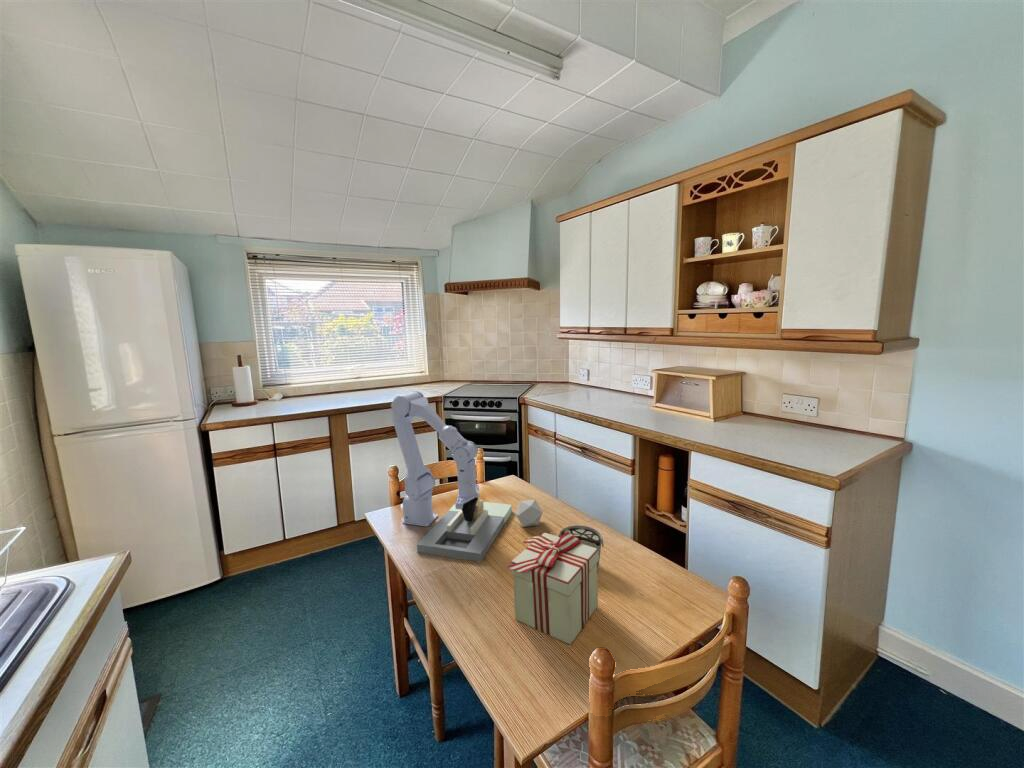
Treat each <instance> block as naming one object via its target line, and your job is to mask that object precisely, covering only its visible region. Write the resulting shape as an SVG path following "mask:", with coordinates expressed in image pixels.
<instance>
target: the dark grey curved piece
mask: <svg viewBox="0 0 1024 768" xmlns="http://www.w3.org/2000/svg"><path fill="white" fill-rule="evenodd" d="M566 532H569V533H571V534H572V535H573V536H575V537H576V538H578V539H579V540H580V541H581V542H580V543H581V544H584V545H588V546H591V547H594V548H597V549H599V561H598V562H597V575H598V573H599V566H600V556H601V549H602V548H604V546H605V545H604V539H603V537H602V534H601V533H600V532H599V531H598V530H597V529H595V528H594V527H591V526H587V525H578V524H577V525H570V526H566V527H564V528H562V529H561V530H560V531H559V532H558V537H561V536H562V535H563V534H564V533H566Z"/></svg>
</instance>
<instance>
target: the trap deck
mask: <svg viewBox="0 0 1024 768" xmlns="http://www.w3.org/2000/svg"><path fill="white" fill-rule="evenodd" d="M483 506H484V511H483V512H482V513H481V515H480V516H479V517H478V519H477V520H472V521H465V519H464V515H463V512H462V510H461V509H456V505H455V503H454V504H453V505H452V506H451V508H450V509H448V510H447V512H446V513H445V514H444V515H443V516H442V517H441V518H440V519H439V520H438V521H437V522H436V523H435V524H434V525H433V527H431V528H430V530H429V531H428V532H427V533H426V534H425V535H424V536H423V537H422V538H421V540H419V542H418V543H417V544H416V549H417V550H416V551H417V553H421V554H428V555H435V556H441V557H446V558H447V557H448V558H453V559H461V560H465V561H466V560H467V561H474V562H479V563H481V562H482V561H483V560H484V558H485V555H486V554H487V552H488V551H489V549H490V547H491V546H492V544H493V543H494V541H495V540H496V538H497V536H498V535H499V533H500V532H501V530H502V528H503V527H504V525H505V524H506V522H507V520H508V519H509V517H510V516H511V514H512V512H513V505H512V504H508V503H499V502H490V501H483Z"/></svg>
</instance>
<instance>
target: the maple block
mask: <svg viewBox="0 0 1024 768" xmlns="http://www.w3.org/2000/svg"><path fill="white" fill-rule="evenodd" d="M483 502H484V499H482V498H481V499H480V498H478V501H477V503H476V506H475V510H474V515H473V520H477V519H478V517H479V516H480V515H481V513H482V512H483V511H484V506H483ZM464 519H465V518H464Z"/></svg>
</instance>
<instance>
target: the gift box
mask: <svg viewBox="0 0 1024 768" xmlns="http://www.w3.org/2000/svg"><path fill="white" fill-rule="evenodd" d="M580 542H581V541H580V540H579V539H578V538H576V537H575V536H573V535H572V534H571V533H569V532H566V533H564V534H563V535H562V536H561V537H559V535H553V534H551V533H546V532H543V533H542V534H541V535H540V534H538V535H535V536H532V537H531V538H529V539H527V540H523V541H522V543H523V544H529V545H528V546H527V547H526V548H525V549H524V550H522V552H520V553H519V554H518V555H517V556H516V557H515V558H514V559H511V561H510V565H507V566H506V568H509V569H510V574H511V575H512V579H513V600H514V601H513V602H514V615H515V616H514V618H515V620H516V621H517V622H519V623H522V624H524V625H527V626H528V627H531V628H533V629H535V630H537V631H539V632H541V633H543V634H546V635H547V636H550V637H552V638H554V639H556V640H559V641H561V642H562V643H565V644H567V645H572V644H573V642H574V641H575V639H576V637H577V636H578V635H579V633H580V632H581V630H583V629H584V627H585V625H586V624H587V622H588V621H589V619H590V618H591V616H592V615H593V614H594V612H595V611H596V609H597V607H599V596H598V595H599V592H598V591H599V590H598V587H599V586H598V574H597V562H598V561H599V562H600V559H599V549H597V548H594V547H591V546H588V545H584V544H581V543H580Z"/></svg>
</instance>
